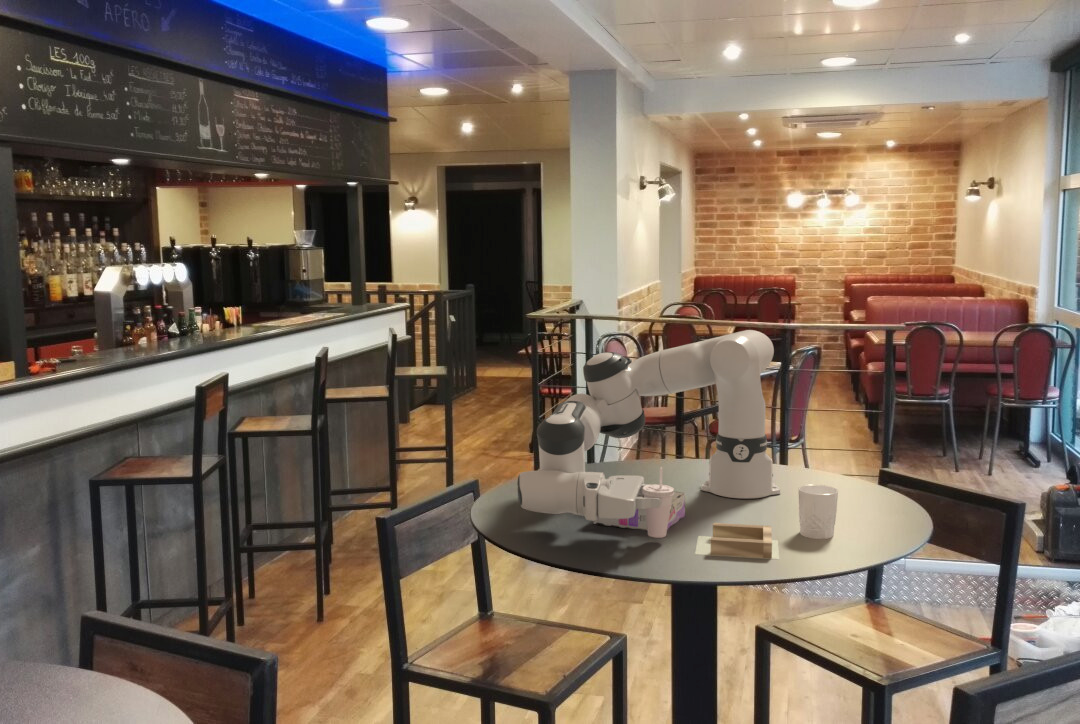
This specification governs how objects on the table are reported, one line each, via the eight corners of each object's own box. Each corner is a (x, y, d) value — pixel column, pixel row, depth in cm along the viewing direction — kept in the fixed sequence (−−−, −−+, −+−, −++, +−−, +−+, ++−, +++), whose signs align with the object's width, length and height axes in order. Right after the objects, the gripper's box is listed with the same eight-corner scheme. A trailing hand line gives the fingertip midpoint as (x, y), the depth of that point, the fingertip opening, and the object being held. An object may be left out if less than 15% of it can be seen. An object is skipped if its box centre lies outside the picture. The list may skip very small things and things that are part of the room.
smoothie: (665, 541, 198) (666, 472, 196) (635, 536, 201) (637, 468, 199) (677, 533, 203) (680, 466, 201) (649, 528, 206) (650, 461, 204)
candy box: (592, 525, 217) (663, 534, 209) (592, 498, 216) (664, 507, 208) (617, 509, 229) (686, 517, 221) (617, 484, 228) (686, 491, 220)
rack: (713, 537, 206) (713, 522, 205) (770, 540, 203) (771, 525, 203) (710, 554, 194) (710, 539, 194) (771, 558, 192) (772, 543, 192)
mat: (698, 538, 207) (698, 535, 207) (777, 542, 203) (777, 540, 203) (694, 556, 195) (694, 554, 195) (779, 561, 192) (779, 559, 192)
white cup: (806, 528, 213) (808, 482, 212) (842, 535, 208) (844, 488, 207) (790, 537, 207) (792, 490, 206) (827, 544, 202) (828, 496, 201)
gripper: (601, 495, 214) (666, 498, 211) (586, 523, 194) (657, 527, 191) (601, 466, 213) (666, 469, 210) (586, 491, 193) (658, 495, 191)
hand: (662, 497), depth 201 cm, fingers closed on smoothie, 6 cm apart
